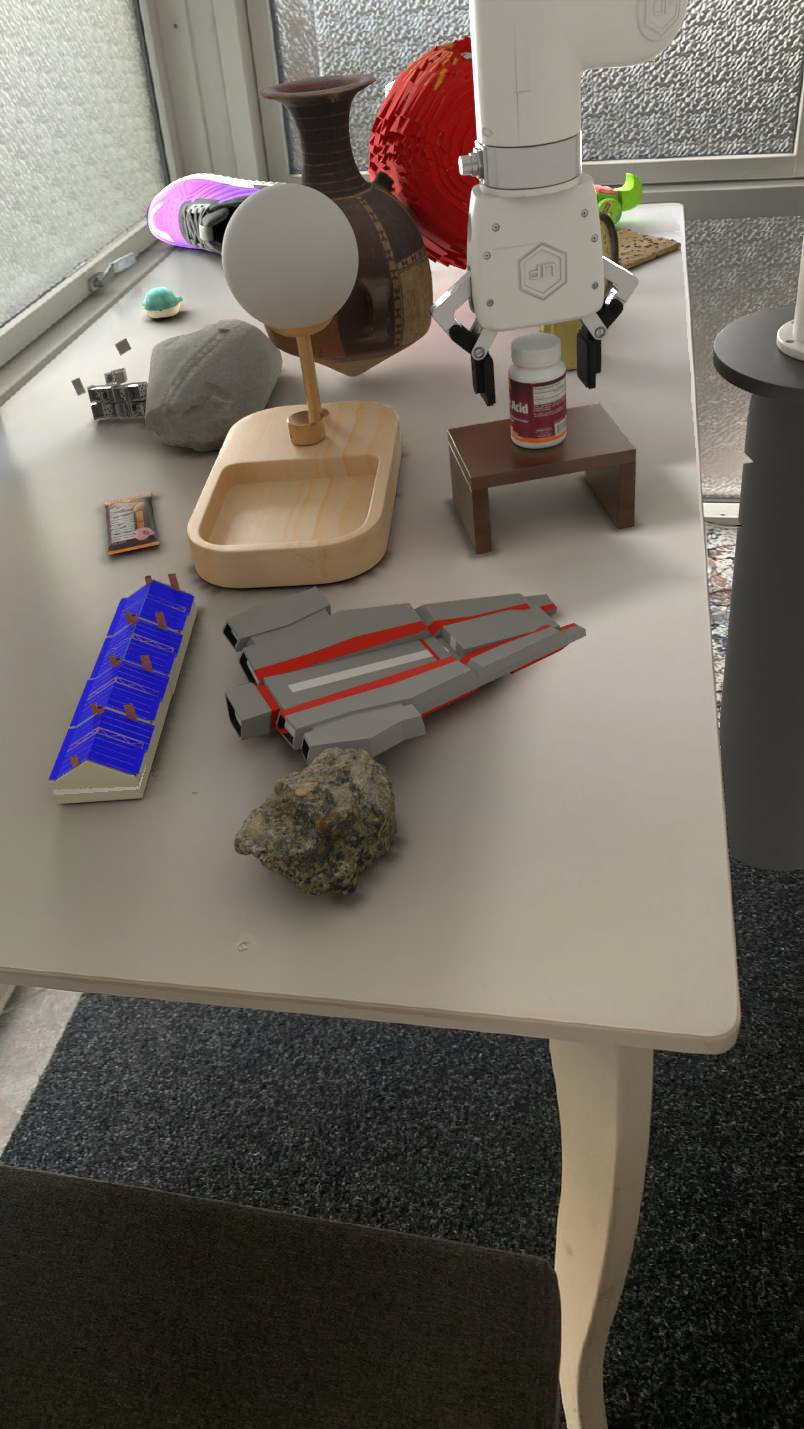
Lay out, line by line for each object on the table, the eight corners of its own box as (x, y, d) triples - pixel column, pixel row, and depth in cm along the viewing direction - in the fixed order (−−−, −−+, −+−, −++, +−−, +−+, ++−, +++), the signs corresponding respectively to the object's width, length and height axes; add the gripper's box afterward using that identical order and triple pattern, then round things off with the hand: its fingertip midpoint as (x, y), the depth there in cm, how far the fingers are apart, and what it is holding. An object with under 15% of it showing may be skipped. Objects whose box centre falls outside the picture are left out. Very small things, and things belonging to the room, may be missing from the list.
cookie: (625, 271, 149) (626, 263, 148) (558, 255, 156) (558, 248, 155) (683, 247, 154) (683, 239, 154) (615, 232, 162) (615, 225, 161)
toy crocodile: (516, 240, 163) (514, 195, 159) (506, 230, 168) (505, 187, 165) (648, 222, 164) (649, 177, 160) (634, 213, 169) (635, 169, 166)
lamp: (382, 582, 93) (340, 273, 77) (182, 593, 95) (101, 294, 80) (408, 416, 119) (380, 159, 103) (250, 428, 121) (199, 177, 105)
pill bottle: (502, 434, 97) (496, 339, 92) (552, 421, 98) (549, 326, 92) (524, 455, 93) (520, 357, 88) (576, 441, 94) (575, 344, 89)
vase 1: (435, 407, 120) (407, 94, 101) (259, 420, 122) (200, 116, 104) (443, 331, 138) (420, 52, 119) (289, 343, 140) (243, 72, 121)
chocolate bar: (161, 548, 102) (159, 540, 102) (107, 559, 101) (105, 551, 101) (153, 495, 111) (151, 488, 110) (104, 505, 110) (102, 498, 109)
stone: (155, 302, 132) (283, 307, 133) (160, 355, 136) (283, 359, 137) (126, 406, 112) (276, 411, 114) (133, 464, 117) (277, 468, 118)
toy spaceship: (504, 539, 91) (500, 592, 94) (188, 610, 82) (194, 666, 85) (643, 659, 77) (633, 717, 80) (281, 761, 68) (285, 822, 71)
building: (145, 800, 75) (130, 755, 72) (56, 806, 75) (38, 762, 73) (199, 611, 93) (188, 570, 90) (127, 617, 93) (114, 577, 91)
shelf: (599, 476, 104) (599, 402, 100) (634, 526, 96) (636, 449, 92) (453, 501, 103) (446, 428, 99) (476, 554, 95) (470, 477, 91)
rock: (232, 913, 67) (274, 785, 74) (377, 928, 65) (407, 796, 72) (212, 858, 63) (259, 728, 69) (366, 872, 61) (399, 738, 68)
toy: (580, 129, 141) (650, 103, 114) (482, 300, 148) (526, 313, 120) (424, 18, 135) (459, -38, 107) (330, 202, 142) (340, 193, 114)
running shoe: (151, 177, 179) (101, 203, 169) (313, 163, 168) (271, 189, 158) (169, 246, 185) (122, 275, 175) (327, 237, 174) (287, 267, 164)
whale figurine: (141, 323, 153) (134, 295, 150) (147, 306, 158) (140, 278, 156) (183, 318, 153) (176, 290, 150) (188, 300, 158) (182, 273, 156)
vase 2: (569, 346, 130) (567, 217, 121) (605, 359, 126) (606, 226, 117) (528, 361, 128) (523, 231, 119) (563, 375, 123) (561, 241, 115)
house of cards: (61, 344, 124) (101, 333, 130) (81, 422, 128) (119, 408, 134) (129, 337, 121) (166, 326, 127) (147, 418, 124) (182, 404, 131)
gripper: (422, 193, 78) (443, 427, 89) (661, 155, 80) (653, 391, 90) (405, 170, 84) (426, 392, 95) (627, 135, 85) (624, 358, 96)
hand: (537, 390), depth 93 cm, fingers open, 7 cm apart
